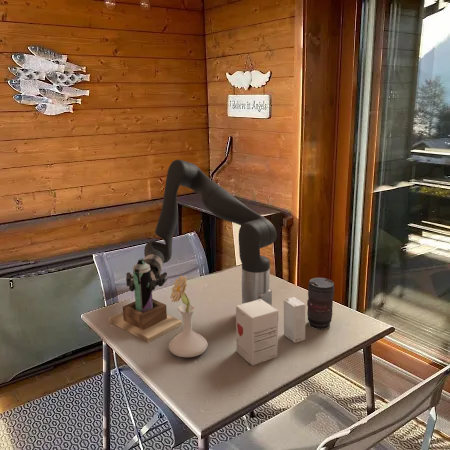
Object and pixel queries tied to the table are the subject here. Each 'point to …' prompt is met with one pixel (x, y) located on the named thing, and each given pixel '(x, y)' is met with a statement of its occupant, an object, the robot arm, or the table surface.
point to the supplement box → (256, 331)
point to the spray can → (142, 286)
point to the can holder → (146, 321)
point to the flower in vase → (185, 325)
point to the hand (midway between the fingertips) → (141, 288)
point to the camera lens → (320, 302)
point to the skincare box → (294, 319)
